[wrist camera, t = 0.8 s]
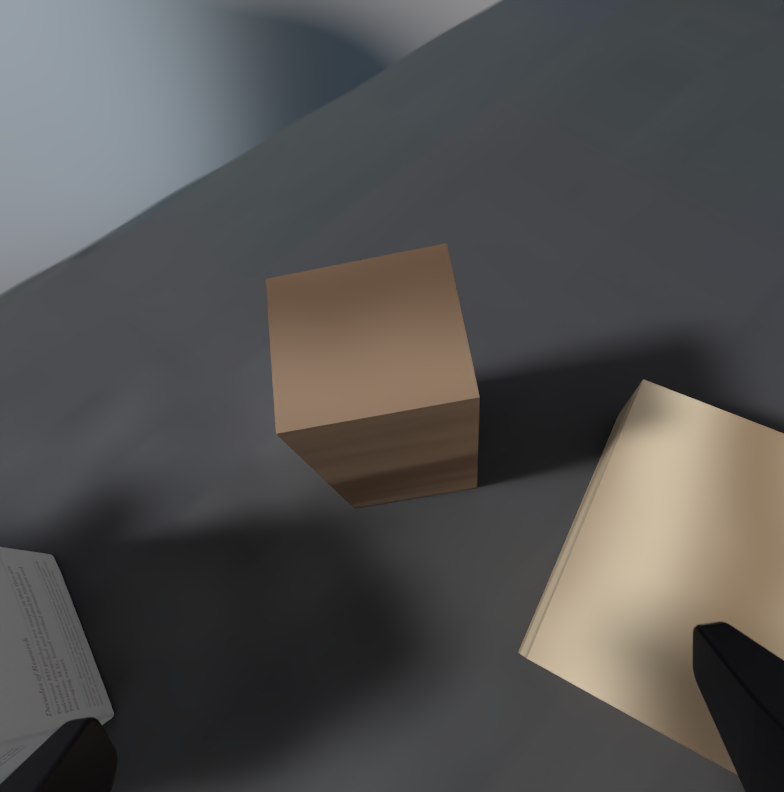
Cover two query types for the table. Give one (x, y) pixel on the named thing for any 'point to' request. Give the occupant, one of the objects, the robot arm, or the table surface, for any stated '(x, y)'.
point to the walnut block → (376, 376)
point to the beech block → (667, 561)
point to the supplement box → (41, 658)
